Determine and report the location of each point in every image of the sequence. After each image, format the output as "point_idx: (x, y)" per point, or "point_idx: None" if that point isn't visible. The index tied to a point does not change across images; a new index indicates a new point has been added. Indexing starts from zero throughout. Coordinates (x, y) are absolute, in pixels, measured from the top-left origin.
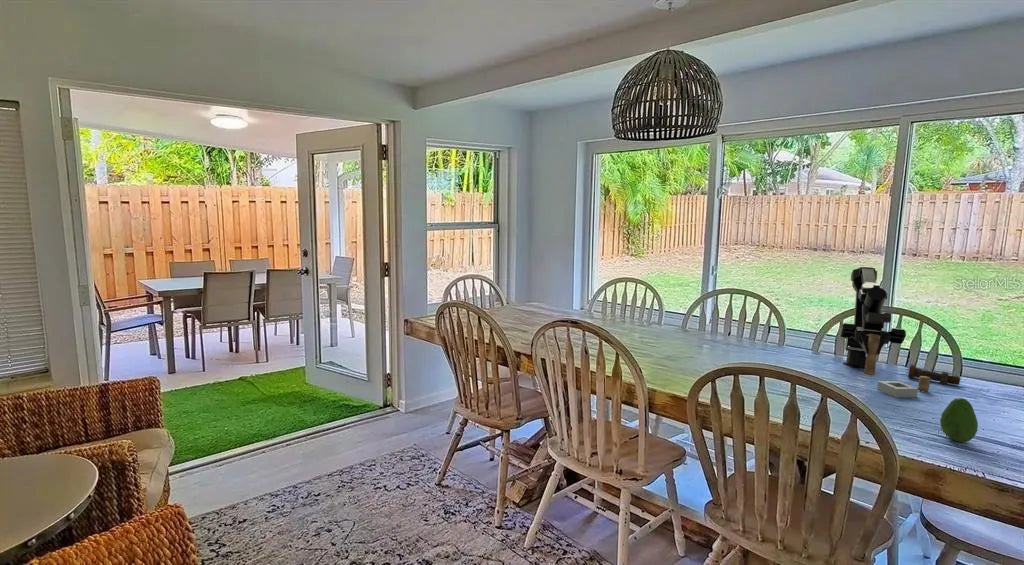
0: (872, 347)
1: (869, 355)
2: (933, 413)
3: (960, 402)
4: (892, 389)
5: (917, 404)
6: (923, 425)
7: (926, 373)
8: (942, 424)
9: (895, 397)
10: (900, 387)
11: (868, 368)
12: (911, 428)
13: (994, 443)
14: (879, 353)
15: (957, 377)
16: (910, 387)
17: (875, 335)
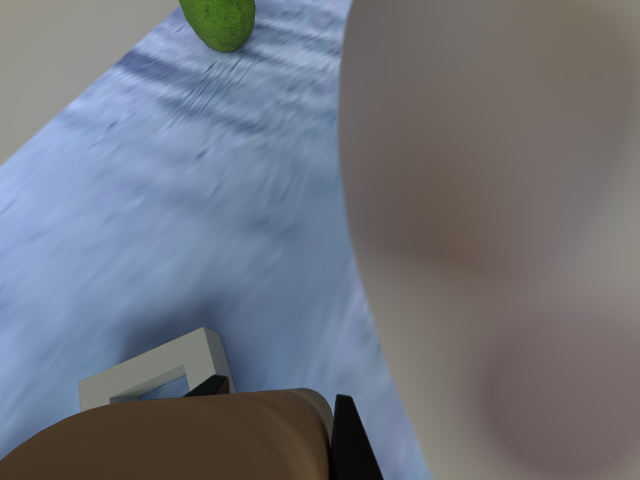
0: (280, 395)
1: (313, 405)
2: (172, 195)
3: None
4: (213, 353)
5: (172, 272)
6: (259, 97)
7: None
8: (254, 2)
9: (219, 334)
10: (167, 365)
11: (317, 395)
12: (300, 71)
13: (154, 59)
14: (214, 374)
15: None
16: (108, 389)
17: (134, 435)
